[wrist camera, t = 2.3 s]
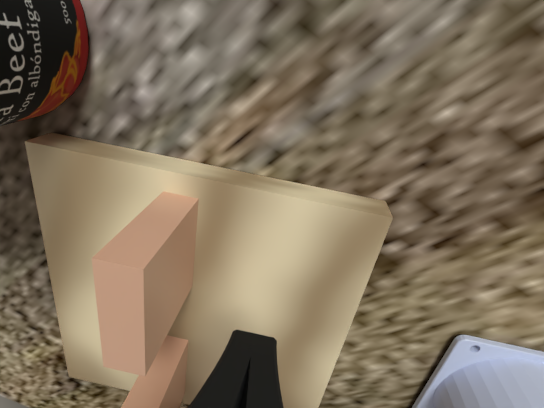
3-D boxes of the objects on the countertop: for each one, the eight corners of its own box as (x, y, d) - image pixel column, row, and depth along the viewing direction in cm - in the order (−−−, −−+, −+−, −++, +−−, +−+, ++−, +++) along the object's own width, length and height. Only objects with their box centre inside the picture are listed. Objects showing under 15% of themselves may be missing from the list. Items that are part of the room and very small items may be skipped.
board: (385, 201, 15) (393, 217, 13) (308, 407, 22) (308, 432, 20) (51, 132, 15) (24, 141, 14) (84, 355, 22) (68, 376, 21)
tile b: (188, 340, 18) (146, 436, 14) (184, 394, 20) (147, 492, 16) (160, 333, 18) (108, 427, 14) (159, 388, 20) (115, 484, 16)
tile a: (198, 198, 14) (143, 269, 9) (192, 285, 16) (145, 376, 12) (161, 191, 14) (89, 257, 10) (160, 279, 16) (101, 366, 12)
